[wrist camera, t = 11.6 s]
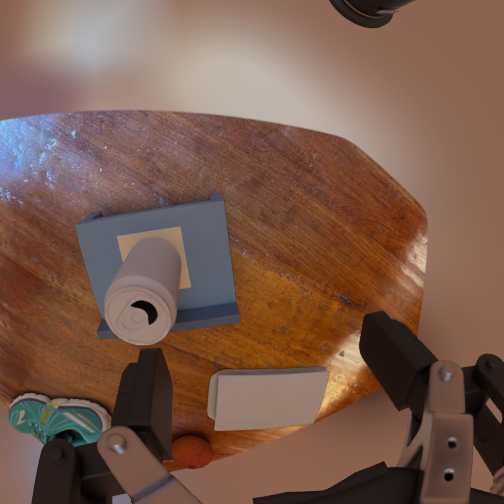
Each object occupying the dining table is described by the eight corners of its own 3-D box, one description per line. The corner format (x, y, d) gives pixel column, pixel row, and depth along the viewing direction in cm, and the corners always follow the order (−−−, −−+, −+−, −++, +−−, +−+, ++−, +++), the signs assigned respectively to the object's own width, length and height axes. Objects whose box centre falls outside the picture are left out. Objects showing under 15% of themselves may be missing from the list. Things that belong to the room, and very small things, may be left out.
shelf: (91, 213, 35) (64, 232, 27) (220, 192, 38) (227, 205, 29) (114, 304, 40) (99, 339, 32) (231, 288, 43) (240, 322, 34)
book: (311, 414, 57) (316, 427, 53) (206, 420, 52) (208, 435, 48) (331, 365, 52) (339, 378, 48) (211, 368, 47) (212, 384, 44)
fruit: (162, 438, 53) (162, 467, 45) (190, 424, 52) (192, 455, 45) (191, 452, 56) (192, 479, 49) (218, 440, 55) (222, 468, 48)
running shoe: (4, 389, 42) (-13, 422, 31) (96, 386, 45) (84, 432, 34) (29, 420, 46) (17, 453, 36) (121, 421, 49) (115, 464, 38)
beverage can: (192, 267, 34) (192, 325, 23) (152, 296, 34) (137, 360, 23) (158, 224, 31) (138, 266, 20) (118, 257, 32) (85, 310, 21)
